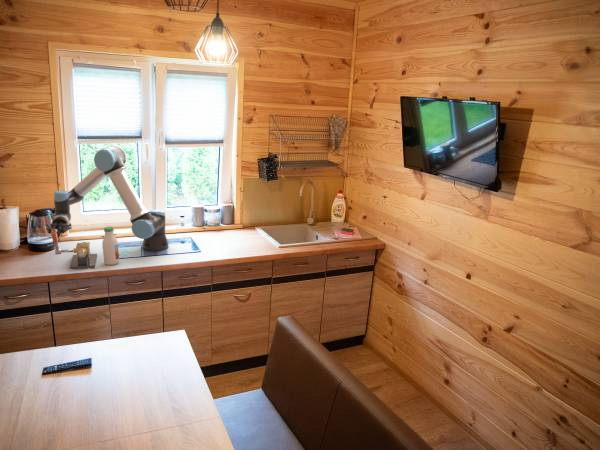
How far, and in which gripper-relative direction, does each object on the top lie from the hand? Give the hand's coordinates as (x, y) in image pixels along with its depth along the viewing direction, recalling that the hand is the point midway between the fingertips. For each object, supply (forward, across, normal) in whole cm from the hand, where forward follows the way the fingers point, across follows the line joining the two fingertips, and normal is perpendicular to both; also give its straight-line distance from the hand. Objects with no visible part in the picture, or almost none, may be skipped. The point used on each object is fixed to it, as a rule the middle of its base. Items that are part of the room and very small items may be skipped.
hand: (54, 235), depth 236 cm
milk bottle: (-2, -27, -17) cm, 32 cm away
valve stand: (-4, -13, -17) cm, 22 cm away
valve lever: (-5, -4, -11) cm, 13 cm away
